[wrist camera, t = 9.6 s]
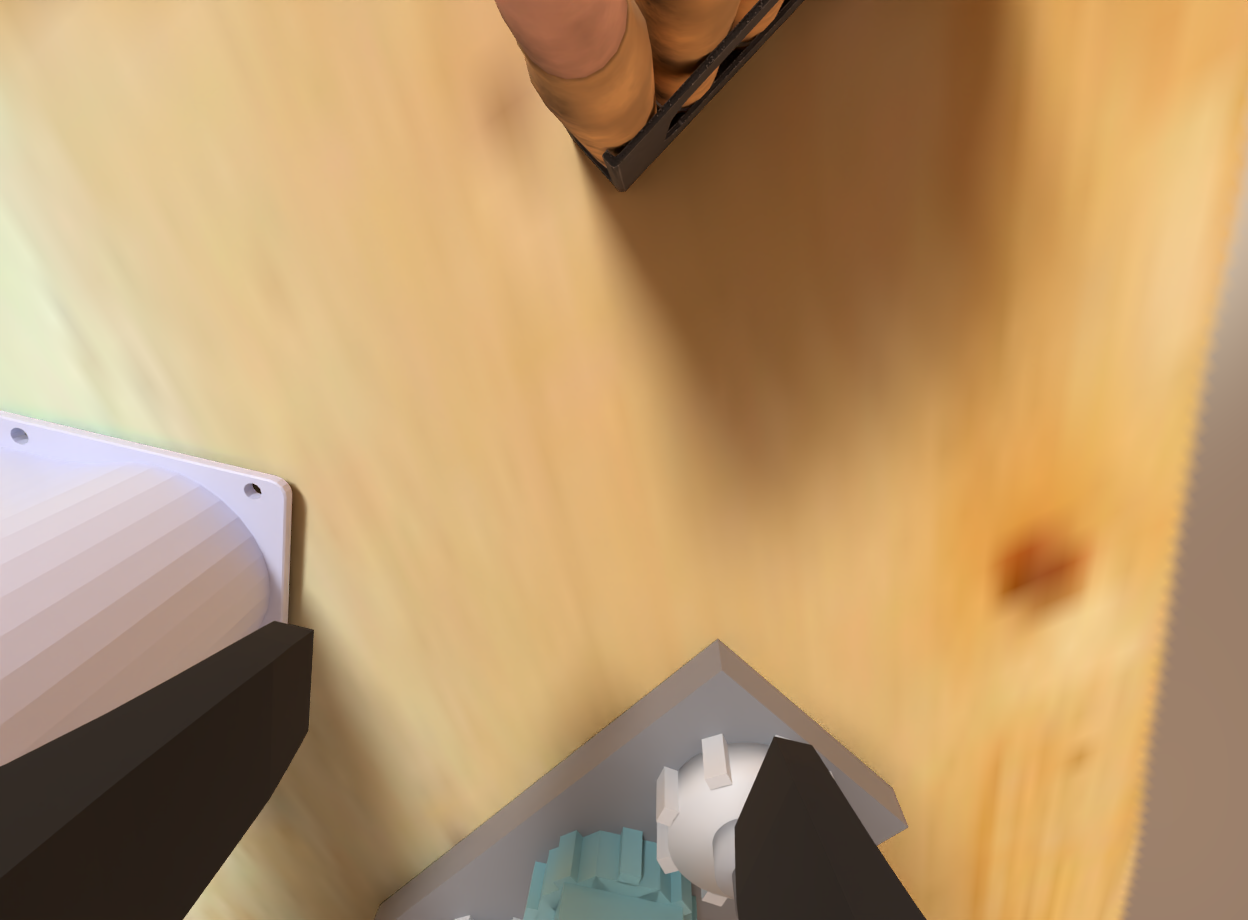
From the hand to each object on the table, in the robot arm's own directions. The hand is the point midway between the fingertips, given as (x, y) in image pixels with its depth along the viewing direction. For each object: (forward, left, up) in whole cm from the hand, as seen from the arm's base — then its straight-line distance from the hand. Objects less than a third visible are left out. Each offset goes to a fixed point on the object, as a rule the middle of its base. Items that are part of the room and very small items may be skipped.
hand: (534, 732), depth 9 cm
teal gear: (+4, -15, -8) cm, 17 cm away
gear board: (+4, -15, -9) cm, 18 cm away
